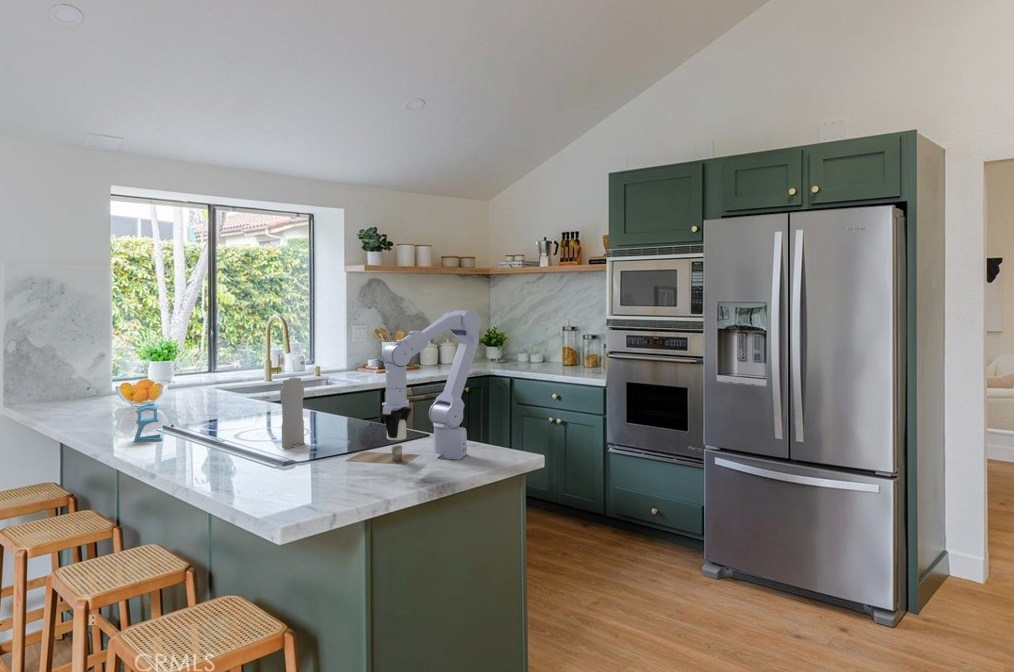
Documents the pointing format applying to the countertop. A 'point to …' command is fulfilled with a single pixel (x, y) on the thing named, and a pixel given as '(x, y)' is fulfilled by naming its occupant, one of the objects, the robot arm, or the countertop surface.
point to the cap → (400, 431)
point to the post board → (384, 457)
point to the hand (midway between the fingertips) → (396, 435)
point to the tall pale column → (292, 412)
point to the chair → (145, 421)
